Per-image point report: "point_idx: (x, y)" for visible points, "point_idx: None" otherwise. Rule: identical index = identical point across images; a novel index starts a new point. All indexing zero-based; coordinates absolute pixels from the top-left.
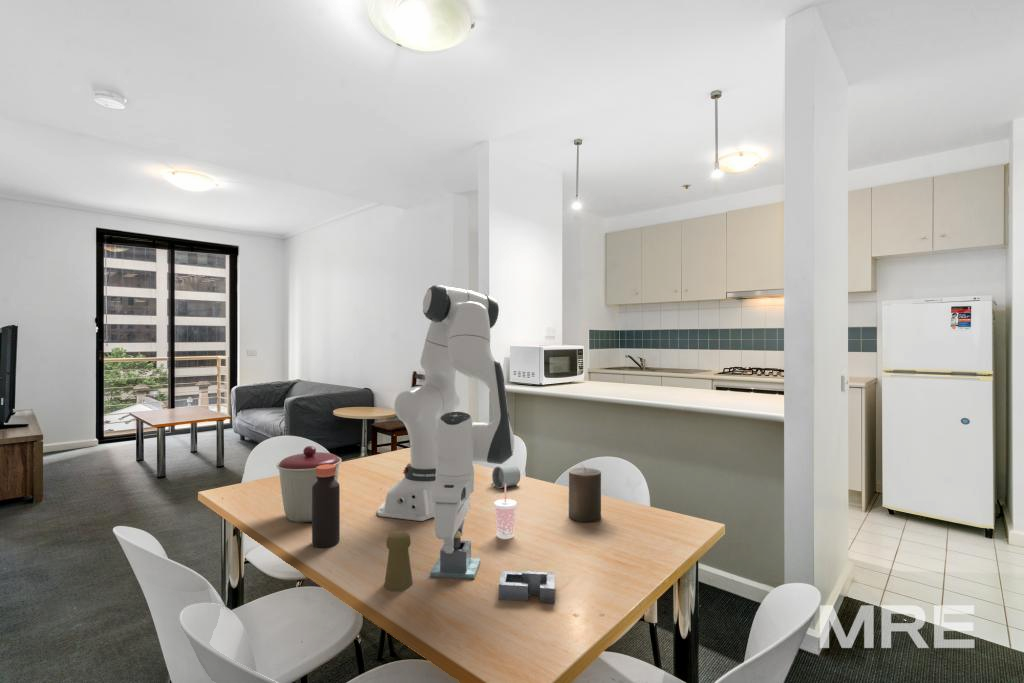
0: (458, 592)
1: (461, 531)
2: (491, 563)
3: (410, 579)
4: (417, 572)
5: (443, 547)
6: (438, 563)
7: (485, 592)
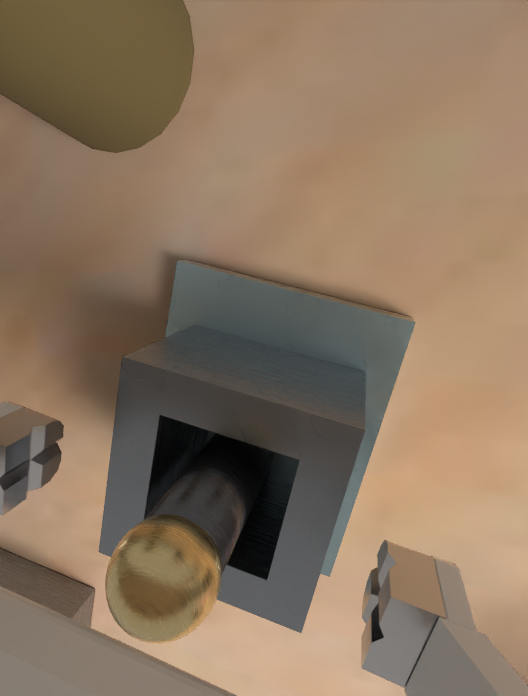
0: (33, 401)
1: (365, 637)
2: (315, 607)
3: (65, 132)
4: (253, 167)
5: (185, 389)
6: (296, 314)
7: (37, 510)
